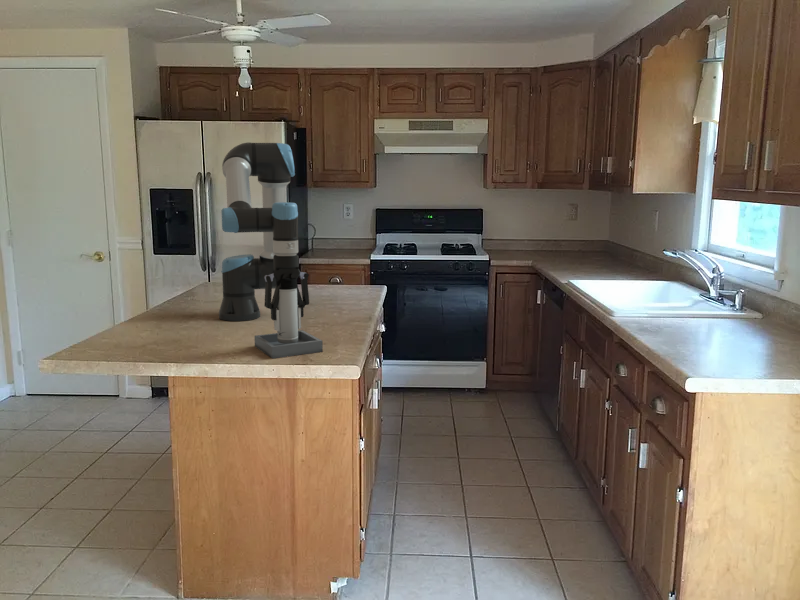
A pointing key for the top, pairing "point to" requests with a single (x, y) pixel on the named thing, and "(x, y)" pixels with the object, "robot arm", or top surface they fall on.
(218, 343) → the top surface
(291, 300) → the travel mug
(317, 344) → the tray
